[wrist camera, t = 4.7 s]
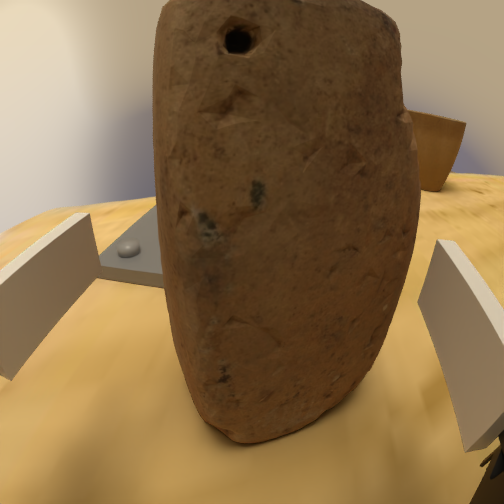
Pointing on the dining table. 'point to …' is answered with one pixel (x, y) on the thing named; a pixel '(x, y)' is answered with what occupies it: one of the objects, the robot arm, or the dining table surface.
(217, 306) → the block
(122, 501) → the dining table surface
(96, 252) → the robot arm
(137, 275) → the tower base
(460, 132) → the plant pot
